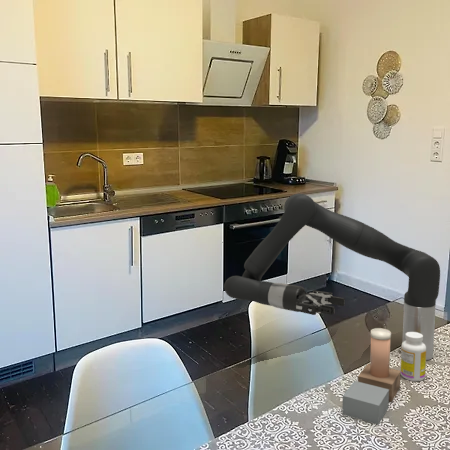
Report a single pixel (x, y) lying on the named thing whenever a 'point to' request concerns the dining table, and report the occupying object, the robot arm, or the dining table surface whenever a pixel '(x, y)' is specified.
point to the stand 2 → (365, 402)
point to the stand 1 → (382, 380)
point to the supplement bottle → (413, 357)
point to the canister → (380, 352)
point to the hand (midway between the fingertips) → (339, 306)
